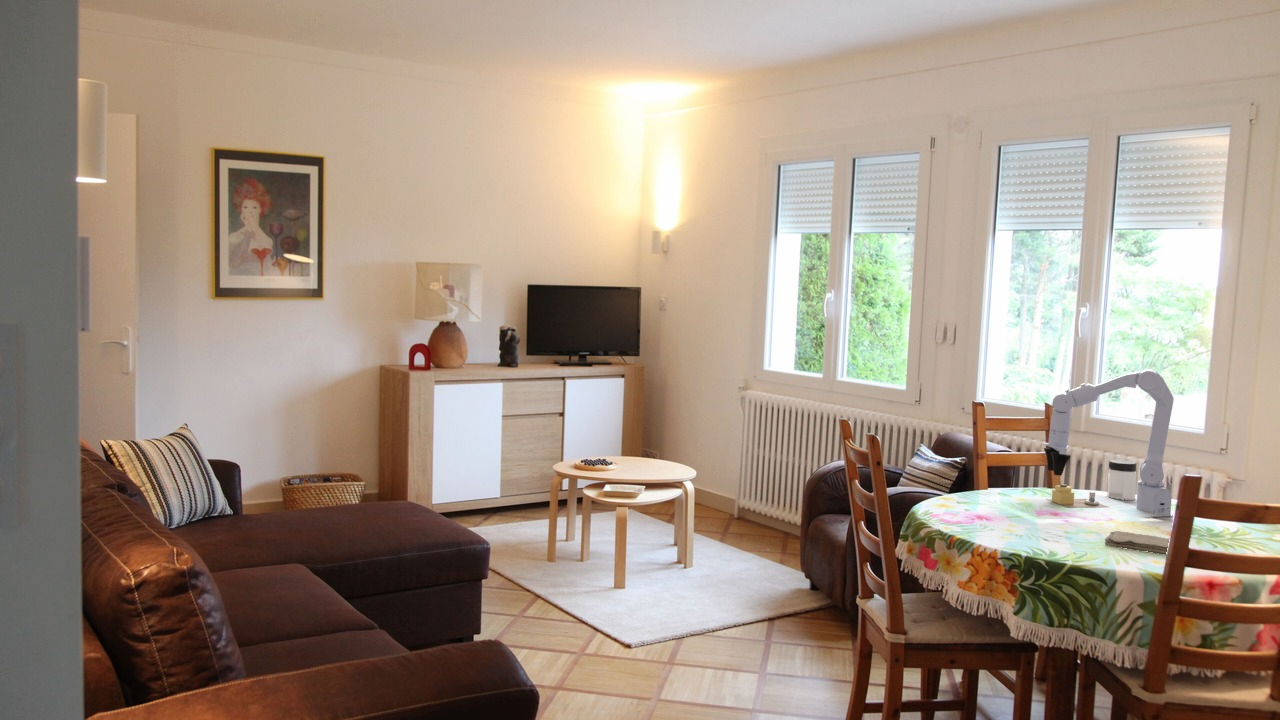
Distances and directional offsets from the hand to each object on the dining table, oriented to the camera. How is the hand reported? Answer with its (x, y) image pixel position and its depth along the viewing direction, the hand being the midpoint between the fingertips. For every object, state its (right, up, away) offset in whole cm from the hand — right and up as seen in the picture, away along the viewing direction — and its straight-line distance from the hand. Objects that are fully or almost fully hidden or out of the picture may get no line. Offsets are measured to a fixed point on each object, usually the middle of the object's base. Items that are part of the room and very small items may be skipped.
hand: (1054, 472), depth 305 cm
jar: (+27, -10, +11) cm, 30 cm away
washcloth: (+1, -14, -52) cm, 54 cm away
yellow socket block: (+1, -9, -4) cm, 10 cm away
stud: (+9, -9, -6) cm, 14 cm away
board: (+5, -10, -5) cm, 12 cm away
